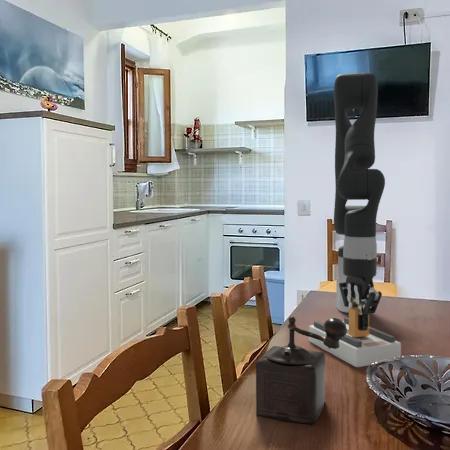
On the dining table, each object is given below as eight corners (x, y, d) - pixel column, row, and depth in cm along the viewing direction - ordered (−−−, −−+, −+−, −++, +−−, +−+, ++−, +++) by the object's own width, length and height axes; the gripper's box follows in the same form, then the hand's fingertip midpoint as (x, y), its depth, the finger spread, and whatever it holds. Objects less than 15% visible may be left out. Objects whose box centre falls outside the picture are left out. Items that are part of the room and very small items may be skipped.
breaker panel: (308, 341, 126) (308, 325, 126) (348, 335, 130) (348, 320, 130) (356, 367, 107) (356, 349, 107) (400, 360, 112) (401, 342, 111)
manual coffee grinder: (252, 416, 85) (252, 314, 83) (272, 392, 95) (271, 300, 93) (344, 433, 79) (345, 323, 77) (354, 405, 89) (355, 307, 87)
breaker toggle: (348, 334, 116) (348, 307, 116) (362, 332, 118) (363, 306, 117) (354, 337, 114) (355, 310, 114) (368, 335, 116) (369, 308, 115)
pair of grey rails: (314, 326, 125) (314, 321, 125) (347, 322, 129) (347, 317, 129) (357, 347, 108) (357, 342, 108) (394, 342, 112) (394, 336, 112)
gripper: (329, 252, 120) (328, 322, 121) (365, 260, 107) (364, 338, 108) (355, 251, 122) (354, 319, 124) (393, 258, 109) (391, 334, 111)
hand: (358, 328), depth 116 cm, fingers closed on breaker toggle, 2 cm apart
